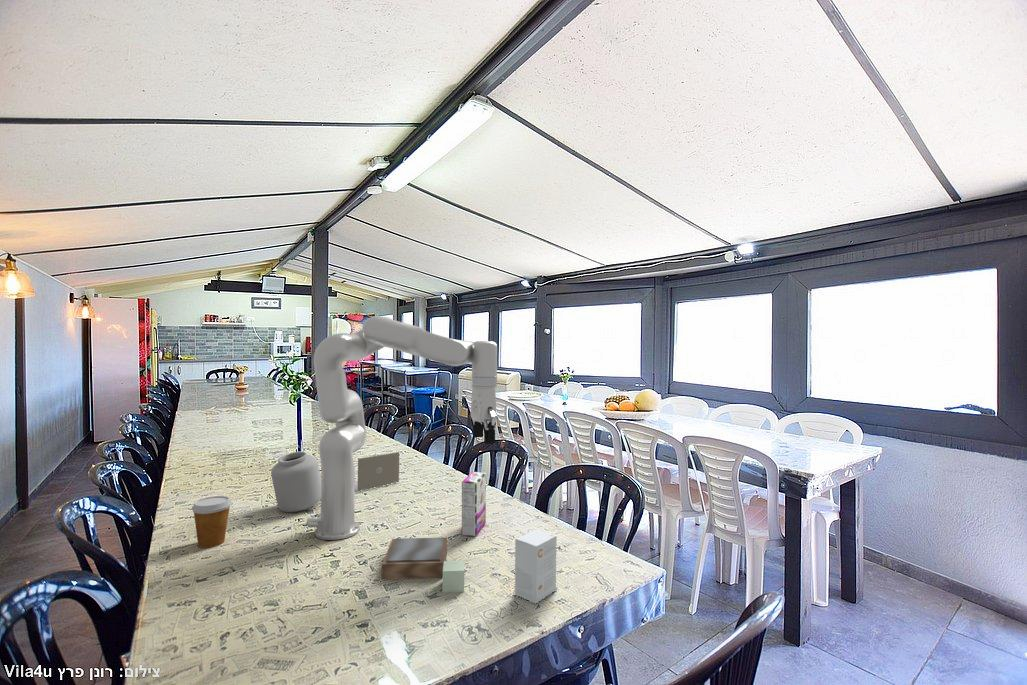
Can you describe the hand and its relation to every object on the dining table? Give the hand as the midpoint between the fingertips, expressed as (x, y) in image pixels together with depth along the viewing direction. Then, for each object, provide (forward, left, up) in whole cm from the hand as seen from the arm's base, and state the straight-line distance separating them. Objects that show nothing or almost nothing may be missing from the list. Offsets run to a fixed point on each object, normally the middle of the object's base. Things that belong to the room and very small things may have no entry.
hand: (483, 440), depth 139 cm
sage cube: (-8, -27, -29) cm, 41 cm away
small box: (+11, -31, -29) cm, 44 cm away
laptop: (-43, +56, -30) cm, 76 cm away
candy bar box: (-3, +7, -29) cm, 30 cm away
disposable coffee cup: (-77, +1, -29) cm, 82 cm away
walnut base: (-18, -15, -29) cm, 37 cm away
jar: (-64, +28, -29) cm, 75 cm away
